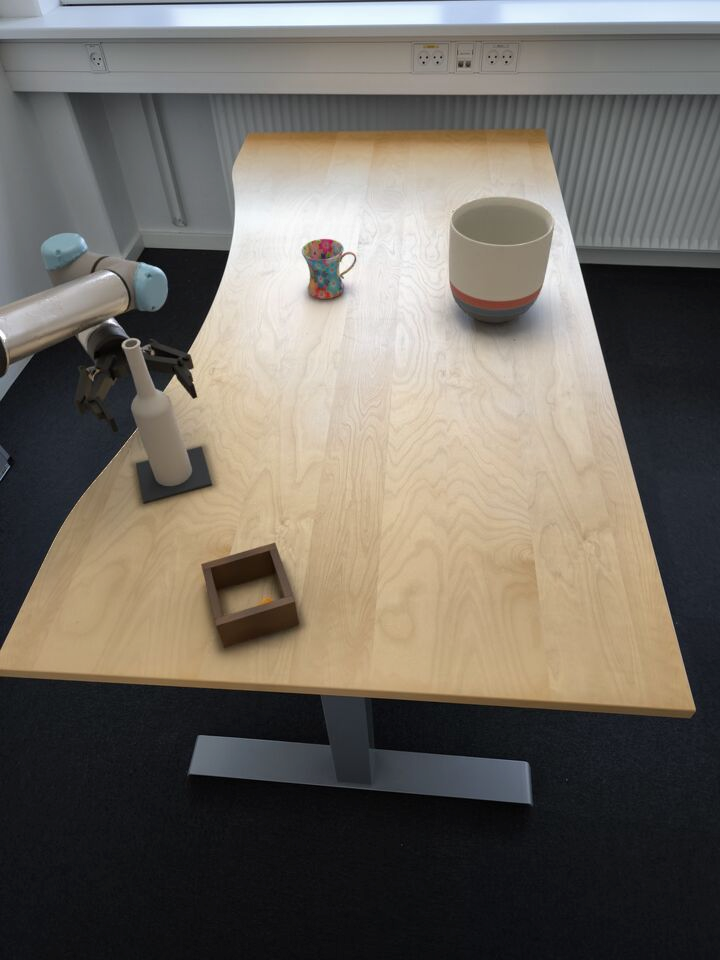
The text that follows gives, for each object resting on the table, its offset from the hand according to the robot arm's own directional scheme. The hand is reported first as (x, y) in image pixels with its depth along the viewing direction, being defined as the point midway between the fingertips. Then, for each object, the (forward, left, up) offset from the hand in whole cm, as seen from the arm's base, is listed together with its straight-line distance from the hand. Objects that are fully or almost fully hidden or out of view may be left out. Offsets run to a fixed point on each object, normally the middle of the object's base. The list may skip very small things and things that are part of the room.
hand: (154, 408), depth 116 cm
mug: (+43, +48, -18) cm, 67 cm away
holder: (+6, -30, -17) cm, 35 cm away
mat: (-1, +2, -17) cm, 17 cm away
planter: (+73, +26, -17) cm, 80 cm away
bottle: (-1, +2, -17) cm, 17 cm away
